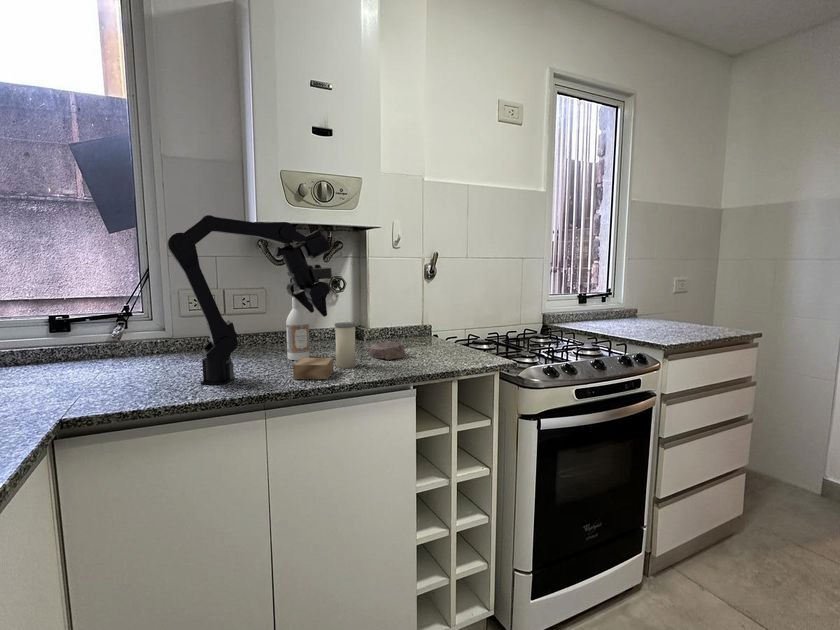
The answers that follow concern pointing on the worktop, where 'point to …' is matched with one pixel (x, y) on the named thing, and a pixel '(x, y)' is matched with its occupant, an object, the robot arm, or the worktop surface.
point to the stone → (387, 350)
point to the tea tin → (345, 344)
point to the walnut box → (313, 368)
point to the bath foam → (297, 333)
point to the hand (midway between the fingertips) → (318, 314)
